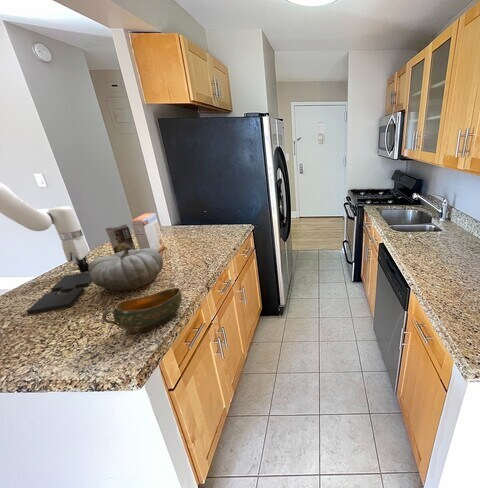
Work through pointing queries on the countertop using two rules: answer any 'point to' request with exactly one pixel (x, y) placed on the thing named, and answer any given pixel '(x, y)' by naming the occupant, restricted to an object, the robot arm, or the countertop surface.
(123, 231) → the coffee box
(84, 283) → the pad
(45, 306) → the base pad
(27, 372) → the countertop surface
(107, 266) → the gourd
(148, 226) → the cracker box
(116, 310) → the green gravy boat
